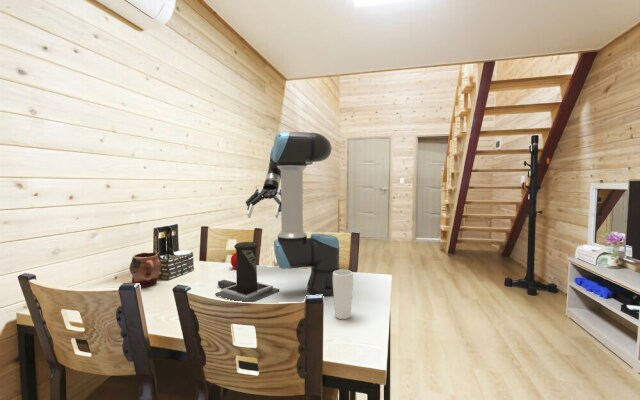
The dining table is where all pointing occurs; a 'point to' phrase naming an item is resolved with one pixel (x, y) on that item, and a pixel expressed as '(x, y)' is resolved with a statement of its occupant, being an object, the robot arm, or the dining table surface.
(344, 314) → the drinking glass
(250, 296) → the base
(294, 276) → the dining table surface
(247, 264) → the container
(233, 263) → the fruit
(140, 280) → the decorative planter
